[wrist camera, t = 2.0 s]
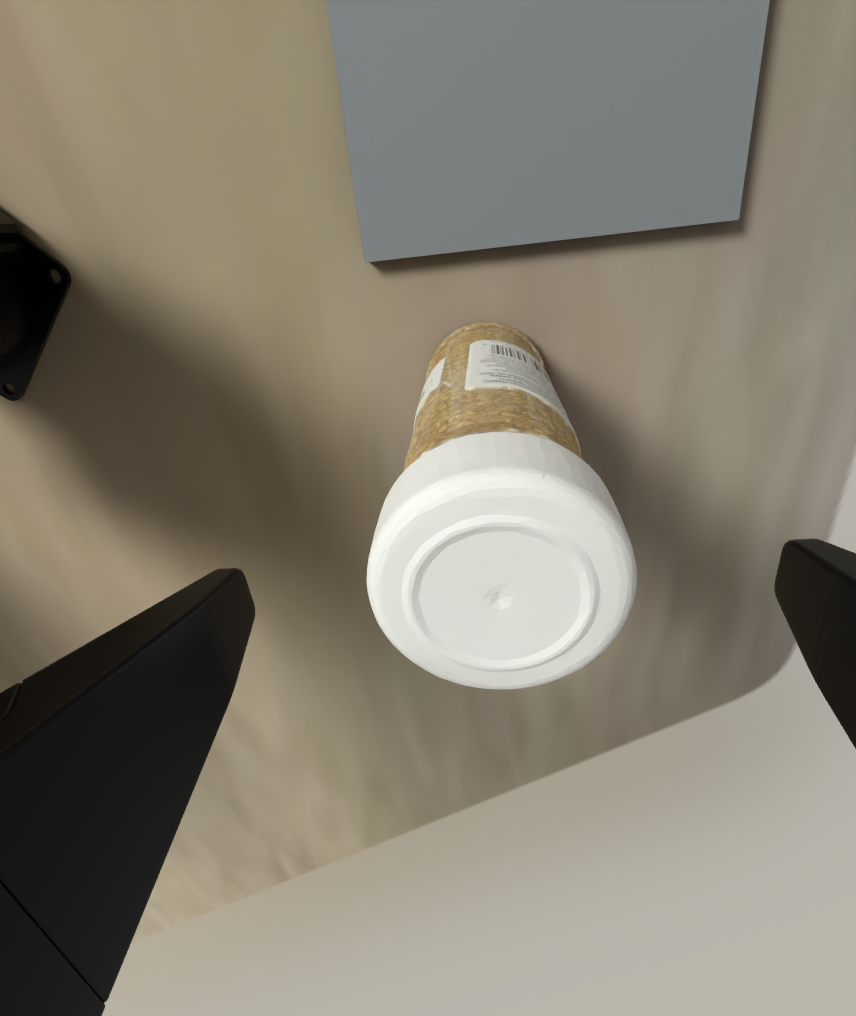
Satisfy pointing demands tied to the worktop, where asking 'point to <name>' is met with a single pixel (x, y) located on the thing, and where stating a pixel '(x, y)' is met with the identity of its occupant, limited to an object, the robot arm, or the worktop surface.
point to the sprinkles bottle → (498, 526)
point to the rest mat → (543, 117)
